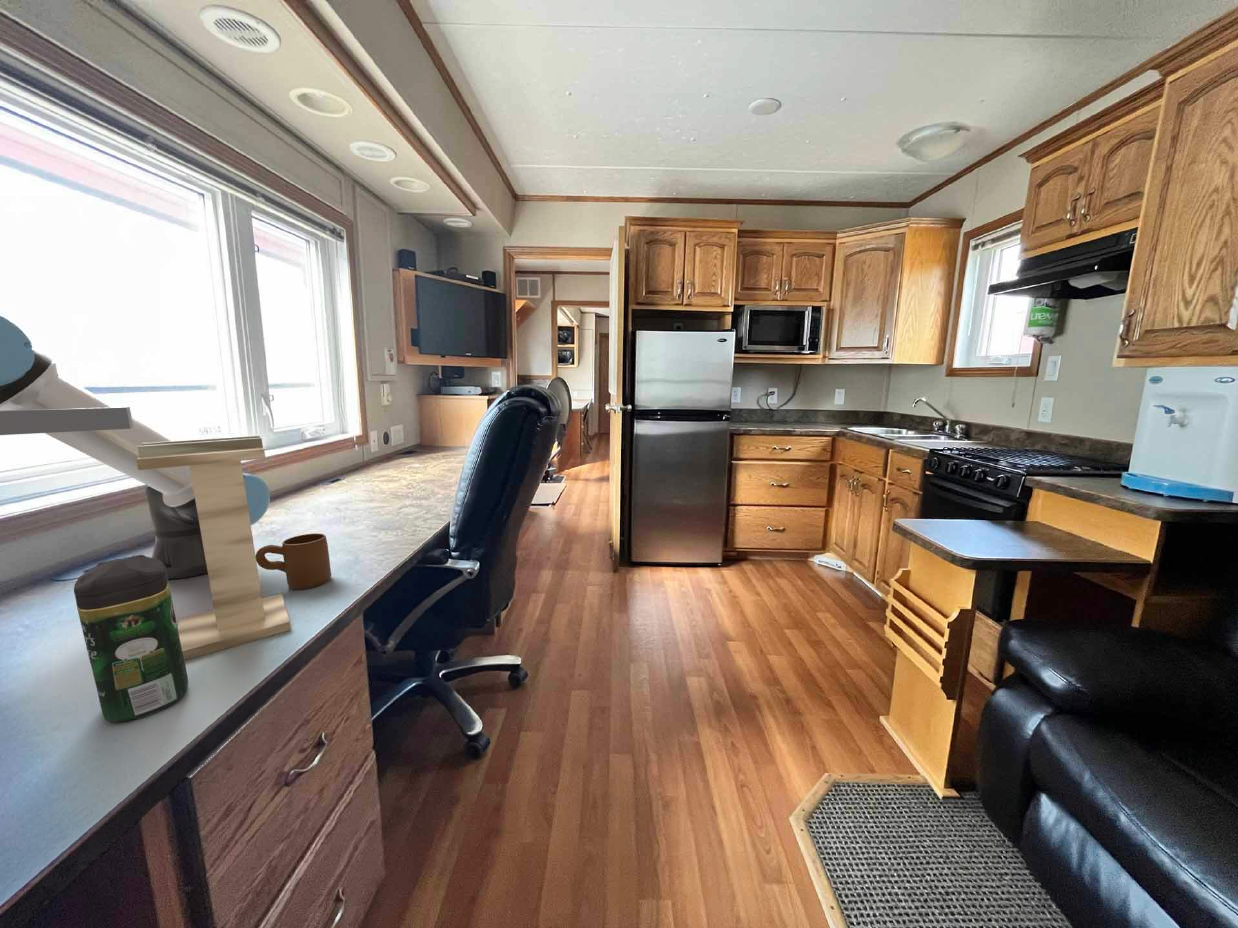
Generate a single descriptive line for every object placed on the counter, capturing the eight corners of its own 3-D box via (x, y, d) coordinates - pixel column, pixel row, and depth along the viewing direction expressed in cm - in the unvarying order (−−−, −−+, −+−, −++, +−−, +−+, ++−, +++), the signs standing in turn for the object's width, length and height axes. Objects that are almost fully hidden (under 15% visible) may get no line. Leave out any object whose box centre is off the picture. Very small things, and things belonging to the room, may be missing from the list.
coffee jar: (104, 697, 60) (74, 561, 57) (187, 671, 66) (163, 545, 63) (98, 736, 54) (63, 584, 50) (191, 702, 59) (165, 564, 56)
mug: (257, 599, 88) (250, 552, 87) (263, 585, 95) (256, 540, 93) (331, 585, 94) (325, 540, 93) (332, 572, 101) (327, 530, 99)
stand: (181, 626, 78) (146, 441, 73) (282, 601, 87) (258, 433, 82) (174, 663, 68) (133, 449, 63) (290, 629, 77) (263, 440, 71)
